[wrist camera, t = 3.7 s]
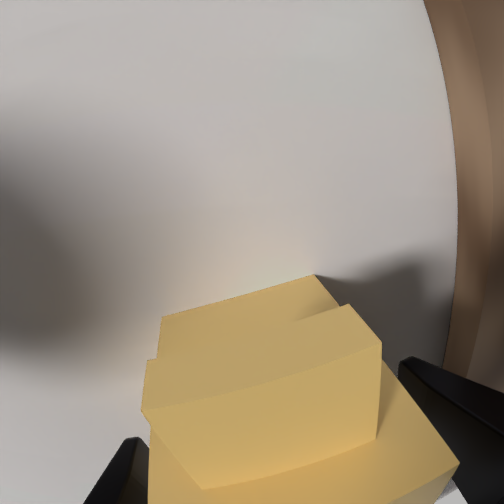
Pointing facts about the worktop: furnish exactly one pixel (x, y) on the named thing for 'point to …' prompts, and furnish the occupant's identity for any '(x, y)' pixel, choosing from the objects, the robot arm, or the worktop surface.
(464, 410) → the robot arm
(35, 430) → the worktop surface
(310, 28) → the worktop surface
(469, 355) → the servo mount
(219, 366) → the block
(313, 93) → the worktop surface
